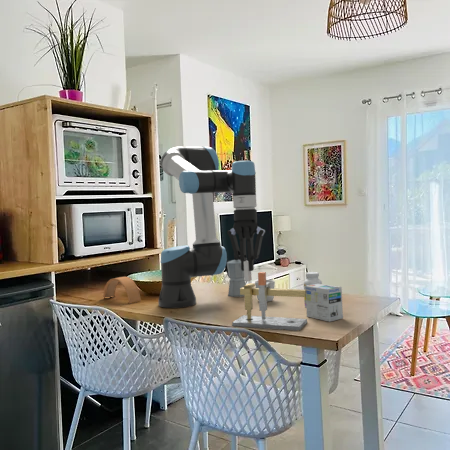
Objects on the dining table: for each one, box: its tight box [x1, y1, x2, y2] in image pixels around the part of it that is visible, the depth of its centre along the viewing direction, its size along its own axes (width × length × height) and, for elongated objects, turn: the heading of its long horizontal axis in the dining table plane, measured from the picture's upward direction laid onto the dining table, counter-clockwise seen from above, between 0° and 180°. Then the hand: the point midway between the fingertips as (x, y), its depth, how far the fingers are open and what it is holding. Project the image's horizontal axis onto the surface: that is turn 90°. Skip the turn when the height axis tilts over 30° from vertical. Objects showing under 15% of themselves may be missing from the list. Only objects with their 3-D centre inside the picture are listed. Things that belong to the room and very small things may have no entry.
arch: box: [102, 276, 142, 304], centre depth 200 cm, size 6×20×10 cm, turn 47°
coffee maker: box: [224, 254, 247, 298], centre depth 201 cm, size 15×9×18 cm, turn 35°
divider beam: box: [240, 282, 307, 319], centre depth 149 cm, size 22×5×11 cm, turn 66°
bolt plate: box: [231, 314, 308, 331], centre depth 148 cm, size 22×10×1 cm, turn 66°
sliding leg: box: [257, 271, 270, 320], centre depth 150 cm, size 2×6×15 cm, turn 156°
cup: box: [254, 279, 276, 303], centre depth 184 cm, size 11×8×8 cm
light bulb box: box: [305, 283, 344, 323], centre depth 154 cm, size 11×7×11 cm, turn 35°
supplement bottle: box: [303, 271, 323, 308], centre depth 170 cm, size 7×7×13 cm
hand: (248, 280), depth 150 cm, fingers closed
